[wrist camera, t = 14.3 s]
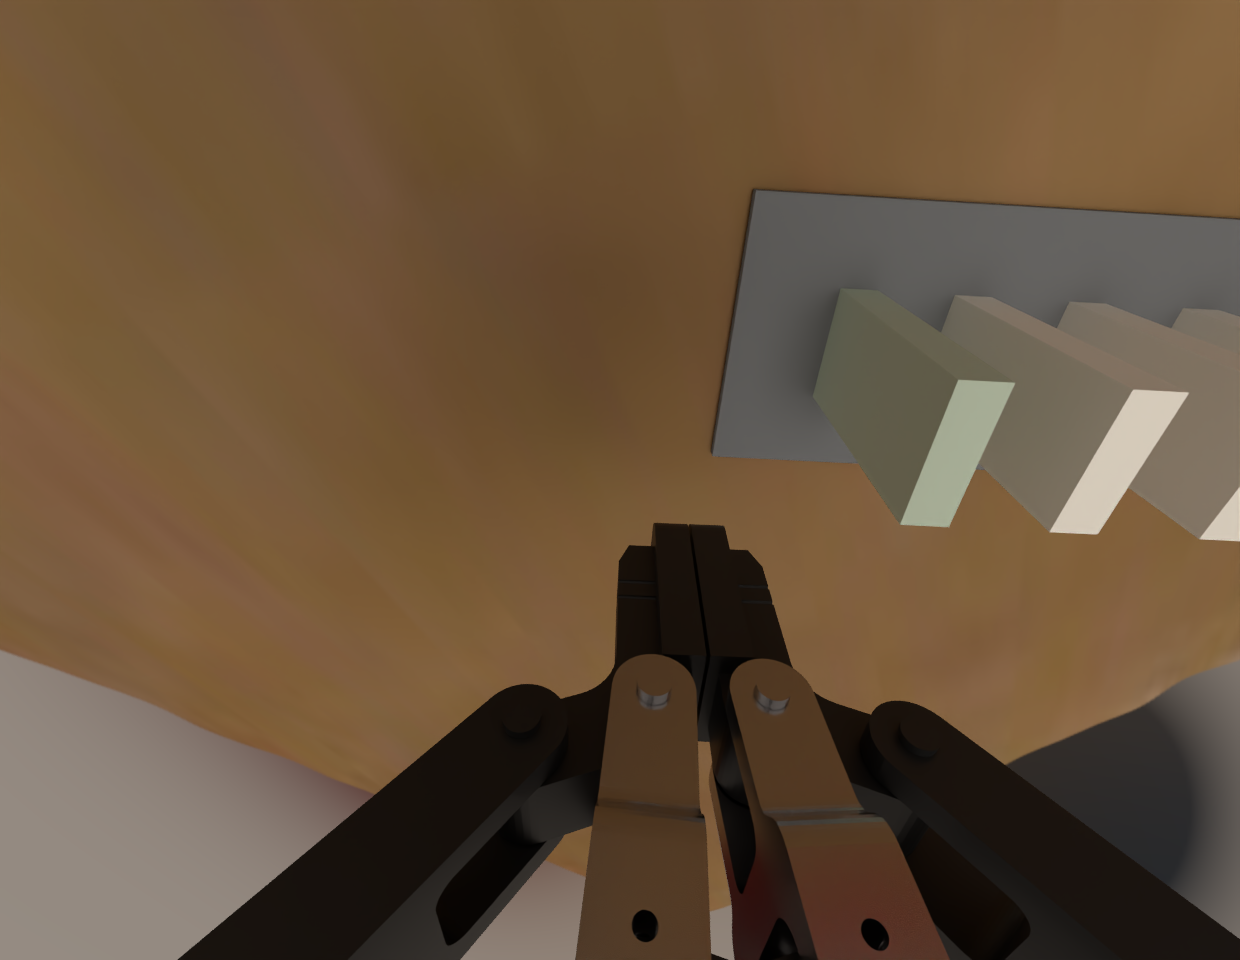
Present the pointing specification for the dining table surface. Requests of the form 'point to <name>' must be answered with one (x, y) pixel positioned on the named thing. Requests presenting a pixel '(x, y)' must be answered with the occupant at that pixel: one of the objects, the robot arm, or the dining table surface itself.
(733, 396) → the mat
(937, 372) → the domino
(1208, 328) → the domino
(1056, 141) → the dining table surface
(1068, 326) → the domino
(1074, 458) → the domino
